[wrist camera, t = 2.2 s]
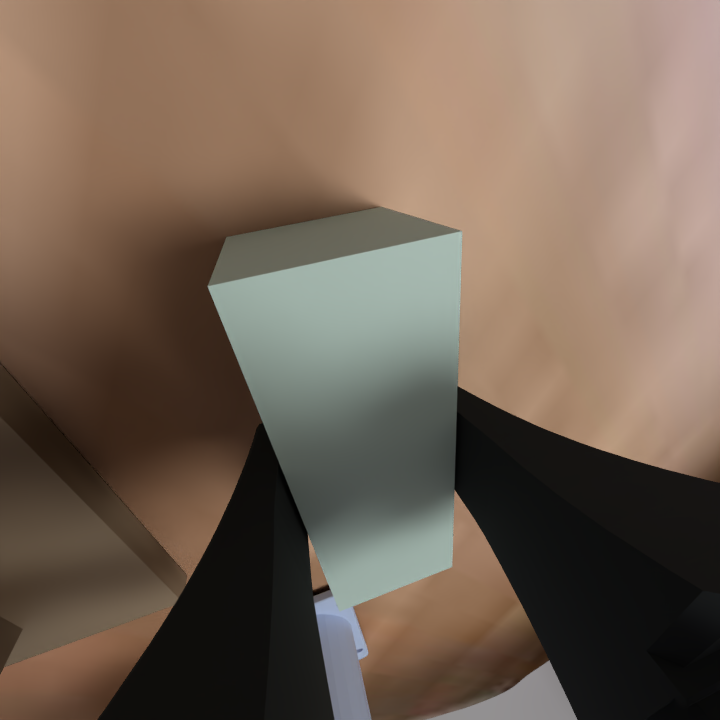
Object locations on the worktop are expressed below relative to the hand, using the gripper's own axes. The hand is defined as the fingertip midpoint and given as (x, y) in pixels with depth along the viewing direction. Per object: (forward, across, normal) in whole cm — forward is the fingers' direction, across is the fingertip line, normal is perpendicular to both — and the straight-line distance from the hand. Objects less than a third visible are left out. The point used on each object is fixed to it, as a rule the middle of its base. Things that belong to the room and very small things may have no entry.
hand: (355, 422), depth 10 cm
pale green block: (+2, 0, 0) cm, 2 cm away
